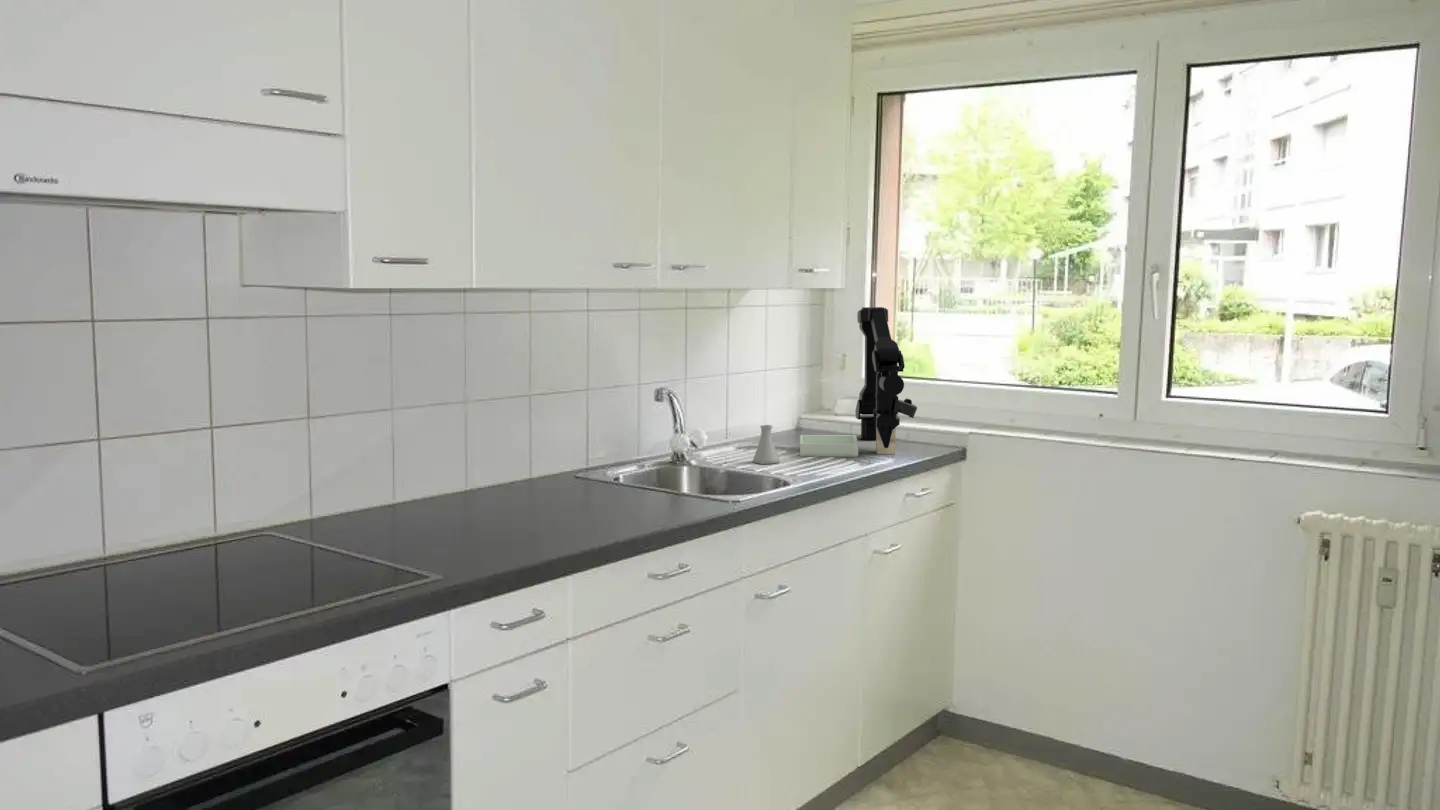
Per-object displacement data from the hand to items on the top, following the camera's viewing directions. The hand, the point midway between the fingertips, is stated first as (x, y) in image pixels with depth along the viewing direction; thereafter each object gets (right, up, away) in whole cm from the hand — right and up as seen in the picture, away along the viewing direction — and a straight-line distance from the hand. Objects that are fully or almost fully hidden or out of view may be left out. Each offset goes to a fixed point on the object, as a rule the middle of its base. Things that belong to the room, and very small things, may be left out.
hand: (885, 446), depth 316 cm
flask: (-34, -4, -13) cm, 37 cm away
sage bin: (-16, -2, +2) cm, 16 cm away
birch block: (0, -2, 0) cm, 2 cm away
